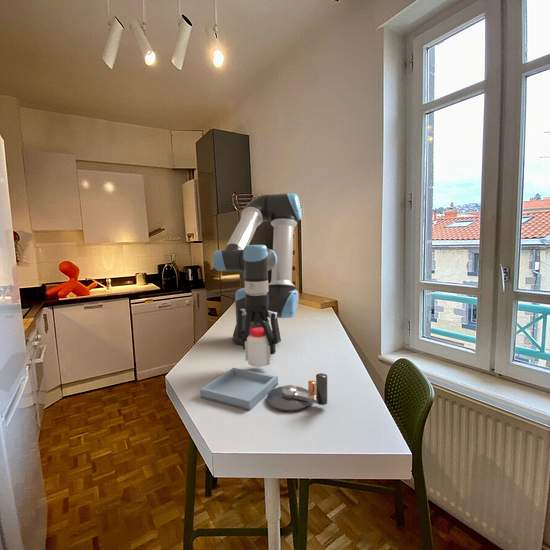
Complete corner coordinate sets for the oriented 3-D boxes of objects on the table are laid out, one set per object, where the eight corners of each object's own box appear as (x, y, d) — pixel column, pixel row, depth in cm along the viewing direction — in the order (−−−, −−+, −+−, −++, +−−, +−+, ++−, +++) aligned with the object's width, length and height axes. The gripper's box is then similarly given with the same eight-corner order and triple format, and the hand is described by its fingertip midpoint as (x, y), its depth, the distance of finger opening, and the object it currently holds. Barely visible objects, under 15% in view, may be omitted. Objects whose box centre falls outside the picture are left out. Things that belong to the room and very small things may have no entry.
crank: (279, 396, 83) (279, 371, 82) (286, 390, 87) (285, 365, 86) (324, 407, 78) (324, 379, 77) (329, 399, 81) (329, 373, 80)
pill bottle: (262, 368, 99) (261, 335, 97) (243, 363, 103) (241, 331, 101) (275, 359, 105) (274, 328, 104) (256, 355, 109) (255, 325, 108)
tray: (200, 397, 87) (199, 388, 87) (233, 375, 101) (233, 367, 101) (249, 410, 79) (249, 401, 79) (278, 384, 94) (277, 376, 93)
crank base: (259, 405, 82) (258, 386, 81) (279, 386, 92) (279, 369, 92) (304, 417, 76) (304, 396, 75) (320, 395, 87) (320, 377, 86)
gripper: (223, 293, 102) (227, 360, 105) (280, 297, 93) (282, 371, 96) (236, 289, 109) (239, 352, 112) (291, 293, 99) (292, 361, 102)
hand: (259, 361), depth 104 cm, fingers closed on pill bottle, 8 cm apart
